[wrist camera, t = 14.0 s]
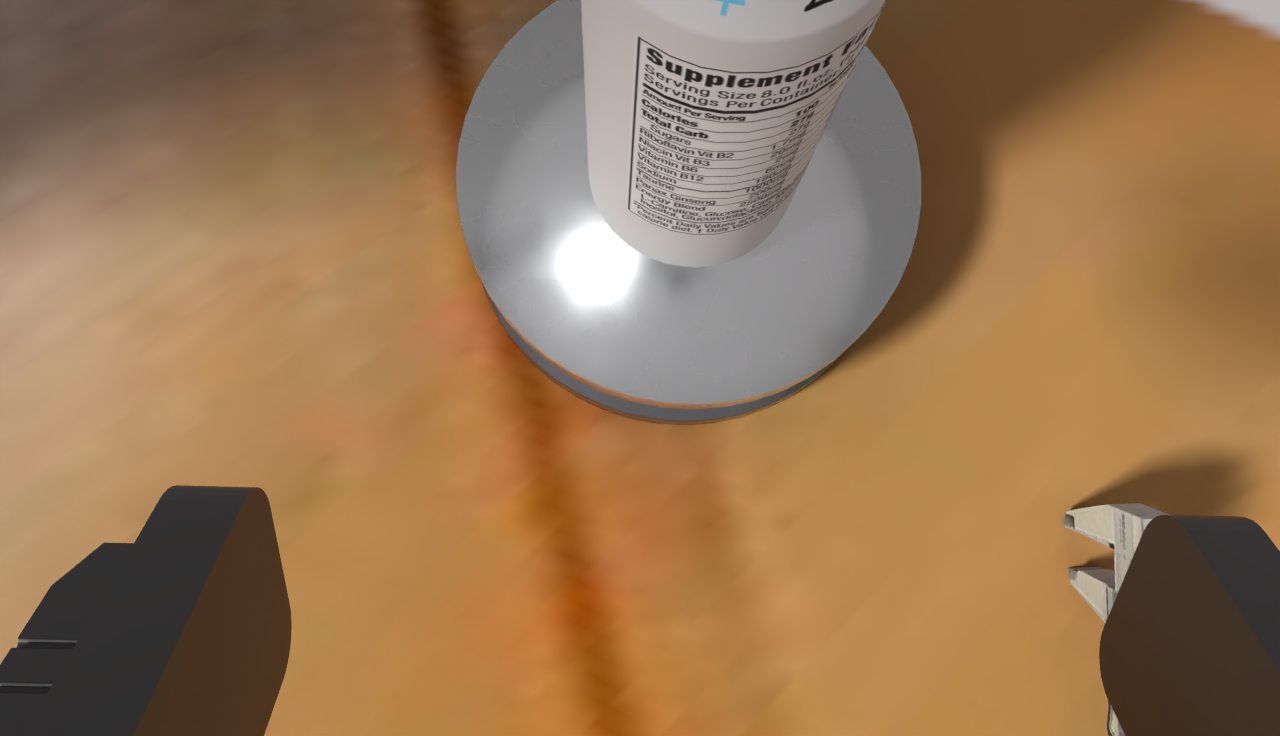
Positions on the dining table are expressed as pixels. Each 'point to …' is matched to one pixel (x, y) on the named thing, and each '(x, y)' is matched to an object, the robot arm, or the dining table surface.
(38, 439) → the dining table surface
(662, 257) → the energy drink can
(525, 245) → the stand
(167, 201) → the dining table surface
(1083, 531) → the caliper
